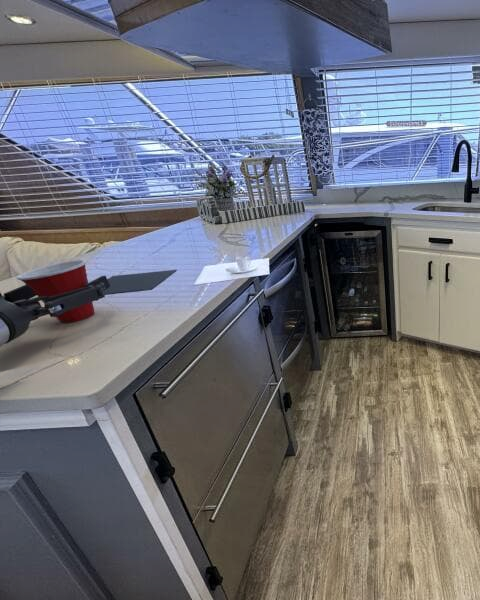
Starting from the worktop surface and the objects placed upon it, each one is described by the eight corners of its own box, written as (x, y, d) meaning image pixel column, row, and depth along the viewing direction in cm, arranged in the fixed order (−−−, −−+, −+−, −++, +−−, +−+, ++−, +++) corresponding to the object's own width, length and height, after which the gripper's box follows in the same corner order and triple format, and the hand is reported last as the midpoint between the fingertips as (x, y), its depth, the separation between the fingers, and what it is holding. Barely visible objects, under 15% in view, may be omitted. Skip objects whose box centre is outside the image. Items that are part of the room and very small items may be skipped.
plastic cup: (49, 316, 73) (22, 266, 69) (109, 303, 79) (89, 256, 74) (36, 334, 65) (5, 278, 60) (105, 318, 71) (81, 266, 66)
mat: (74, 297, 84) (73, 297, 84) (113, 276, 100) (112, 275, 100) (151, 289, 87) (151, 288, 87) (177, 270, 103) (177, 269, 103)
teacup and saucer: (225, 276, 95) (222, 263, 94) (228, 268, 102) (225, 256, 101) (257, 271, 98) (254, 258, 97) (257, 265, 105) (255, 252, 103)
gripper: (-100, 359, 52) (12, 307, 71) (81, 336, 57) (140, 293, 76) (-133, 318, 49) (-7, 275, 68) (62, 297, 54) (128, 262, 73)
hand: (71, 284), depth 72 cm, fingers open, 13 cm apart
